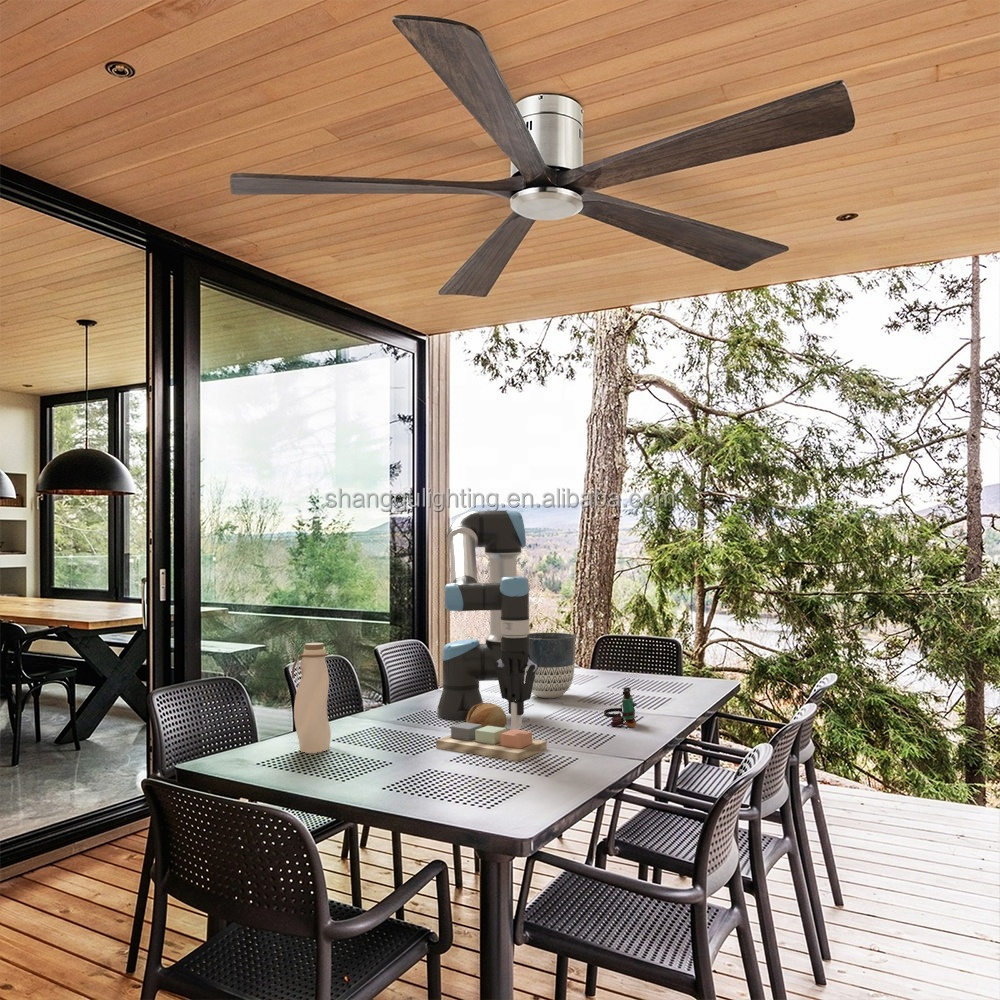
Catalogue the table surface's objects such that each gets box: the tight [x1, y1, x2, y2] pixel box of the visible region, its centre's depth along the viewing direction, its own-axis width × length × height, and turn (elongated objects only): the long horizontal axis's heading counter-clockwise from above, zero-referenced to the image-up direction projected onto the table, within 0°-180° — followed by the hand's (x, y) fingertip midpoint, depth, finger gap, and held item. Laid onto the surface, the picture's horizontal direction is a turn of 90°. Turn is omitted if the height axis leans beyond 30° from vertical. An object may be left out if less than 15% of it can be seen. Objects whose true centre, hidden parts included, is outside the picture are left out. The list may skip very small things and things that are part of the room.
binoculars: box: [603, 686, 637, 728], centre depth 237 cm, size 9×11×10 cm
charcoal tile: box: [450, 721, 482, 741], centre depth 216 cm, size 6×6×3 cm
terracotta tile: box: [501, 728, 533, 749], centre depth 207 cm, size 6×6×3 cm
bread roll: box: [465, 702, 508, 728], centre depth 231 cm, size 10×15×8 cm, turn 146°
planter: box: [524, 632, 576, 699], centre depth 281 cm, size 20×20×21 cm
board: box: [435, 734, 548, 762], centre depth 212 cm, size 26×14×2 cm, turn 57°
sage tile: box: [475, 726, 508, 745], centre depth 212 cm, size 6×6×3 cm
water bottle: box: [291, 642, 332, 754], centre depth 213 cm, size 10×9×28 cm
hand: (516, 727), depth 208 cm, fingers closed
